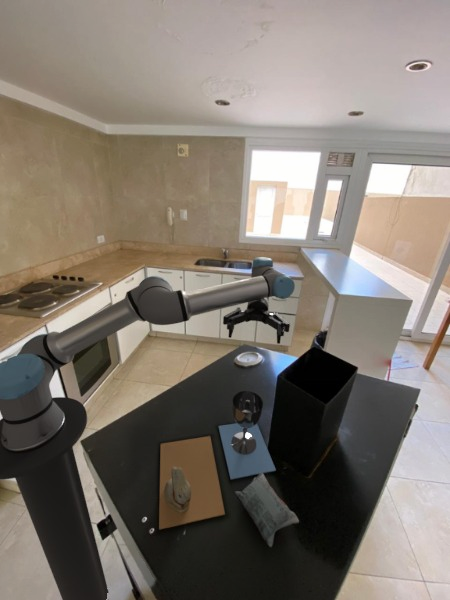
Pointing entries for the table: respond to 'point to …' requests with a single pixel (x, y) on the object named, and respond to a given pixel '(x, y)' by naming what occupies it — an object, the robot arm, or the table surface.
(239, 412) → the wine glass
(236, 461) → the mat blue
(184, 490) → the grey stone figurine
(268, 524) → the packaged food
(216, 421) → the table surface
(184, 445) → the mat brown
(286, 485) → the table surface
